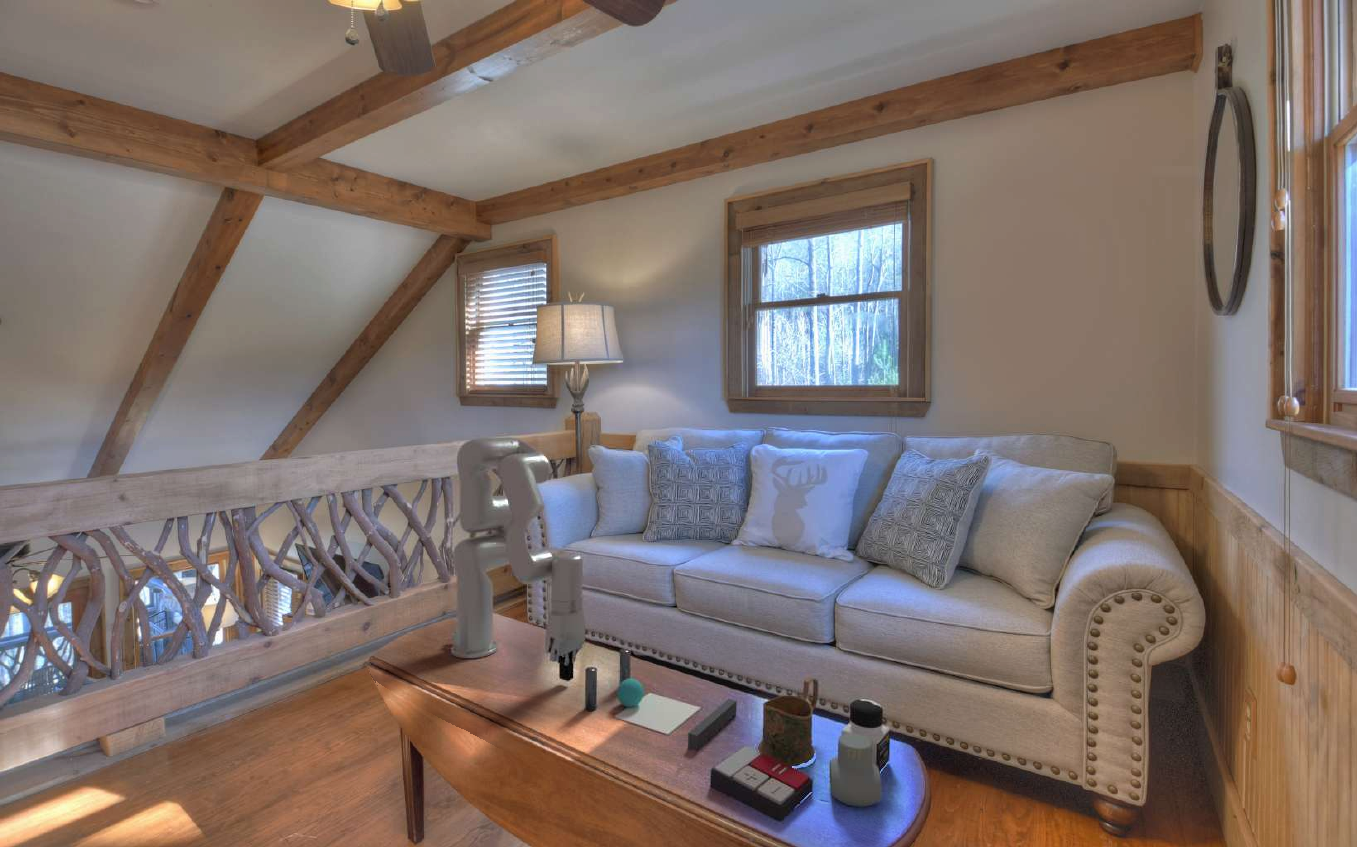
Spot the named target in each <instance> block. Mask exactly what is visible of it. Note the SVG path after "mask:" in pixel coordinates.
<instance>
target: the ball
mask: <svg viewBox="0 0 1357 847" xmlns="http://www.w3.org/2000/svg"><path fill="white" fill-rule="evenodd" d="M644 692H645V691H644V687H643V685H642V683H641V682H640V681H639V680H637V679H635V678H630V679H626V680H624V681H623V682H622V683H621V684H620V683H619V685H618V687H617V692H616V693H617V694H616V695H617V699H618V702H619V703H620V704H622V705H623V706H625V707H627V708H628V707H633V706H636V705H638V704H639V703H640V702H641V700H642V698H643V697H644Z"/></svg>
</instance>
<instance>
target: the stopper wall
mask: <svg viewBox="0 0 1357 847" xmlns="http://www.w3.org/2000/svg"><path fill="white" fill-rule="evenodd" d="M737 702H738V701H737V700H734V699H730V698H728V699H726V700H725V701H724V702H723V703H722V704H720V705H719V706H718V707H717V708H716V709H715V710H713V711H712V712H711V713H709V715H707V717H705V718H704V719H703V720H701V722H700V723H698V724H697V725H696V726H695V727H693V728H692V729H691V730H690V731H689V732H687V733H688V734H687V736H688V737H687V738H688V739H687V748H688V749H690V750H694V751H698V750H699V749H700V748H701V747H703V745H704V744H706V742H708V741H709V740H710V739H711V738H712V737H713V736H714V735H716V734H717V733H718V732H719V731H720V730H721V729H722V728H723V727H724V726H725V725H726V724H728V722H729V721H731V720H732V719H733V718H734V717H735V716H736V715H737ZM734 715H735V716H734ZM733 716H734V717H733ZM732 717H733V718H732ZM731 718H732V719H731ZM730 719H731V720H730ZM728 720H729V721H728ZM723 725H724V726H723ZM722 726H723V727H722ZM721 727H722V728H721ZM719 729H720V730H719ZM718 730H719V731H718Z"/></svg>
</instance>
